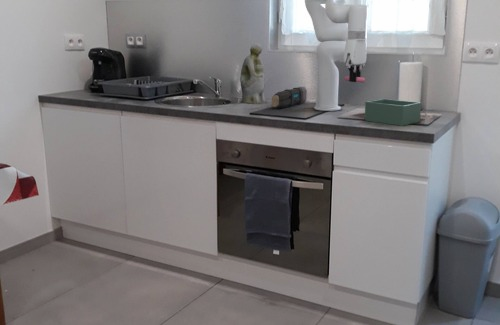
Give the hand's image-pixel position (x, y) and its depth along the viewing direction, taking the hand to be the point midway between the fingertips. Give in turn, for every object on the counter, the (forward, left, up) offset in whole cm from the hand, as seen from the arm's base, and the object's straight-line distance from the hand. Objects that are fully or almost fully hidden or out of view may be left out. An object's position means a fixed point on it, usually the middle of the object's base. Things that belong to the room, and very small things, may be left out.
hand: (354, 81), depth 218 cm
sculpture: (-68, +7, -16) cm, 71 cm away
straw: (0, 0, 0) cm, 0 cm away
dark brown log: (-44, +9, -16) cm, 48 cm away
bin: (+15, +7, -16) cm, 23 cm away
